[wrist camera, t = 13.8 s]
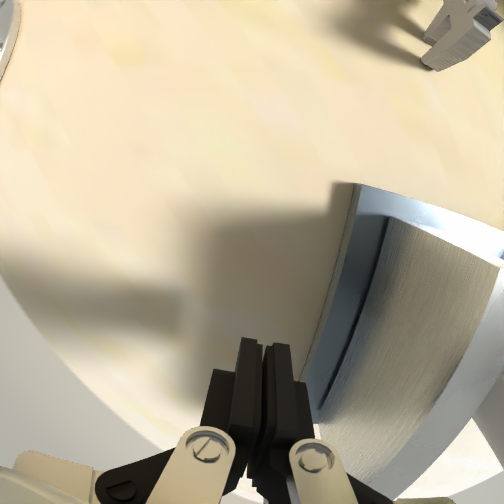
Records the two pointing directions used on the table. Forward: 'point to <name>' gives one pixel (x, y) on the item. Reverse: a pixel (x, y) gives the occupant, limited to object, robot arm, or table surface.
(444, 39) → the caliper
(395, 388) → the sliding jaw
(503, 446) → the can
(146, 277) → the table surface
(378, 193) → the vise
